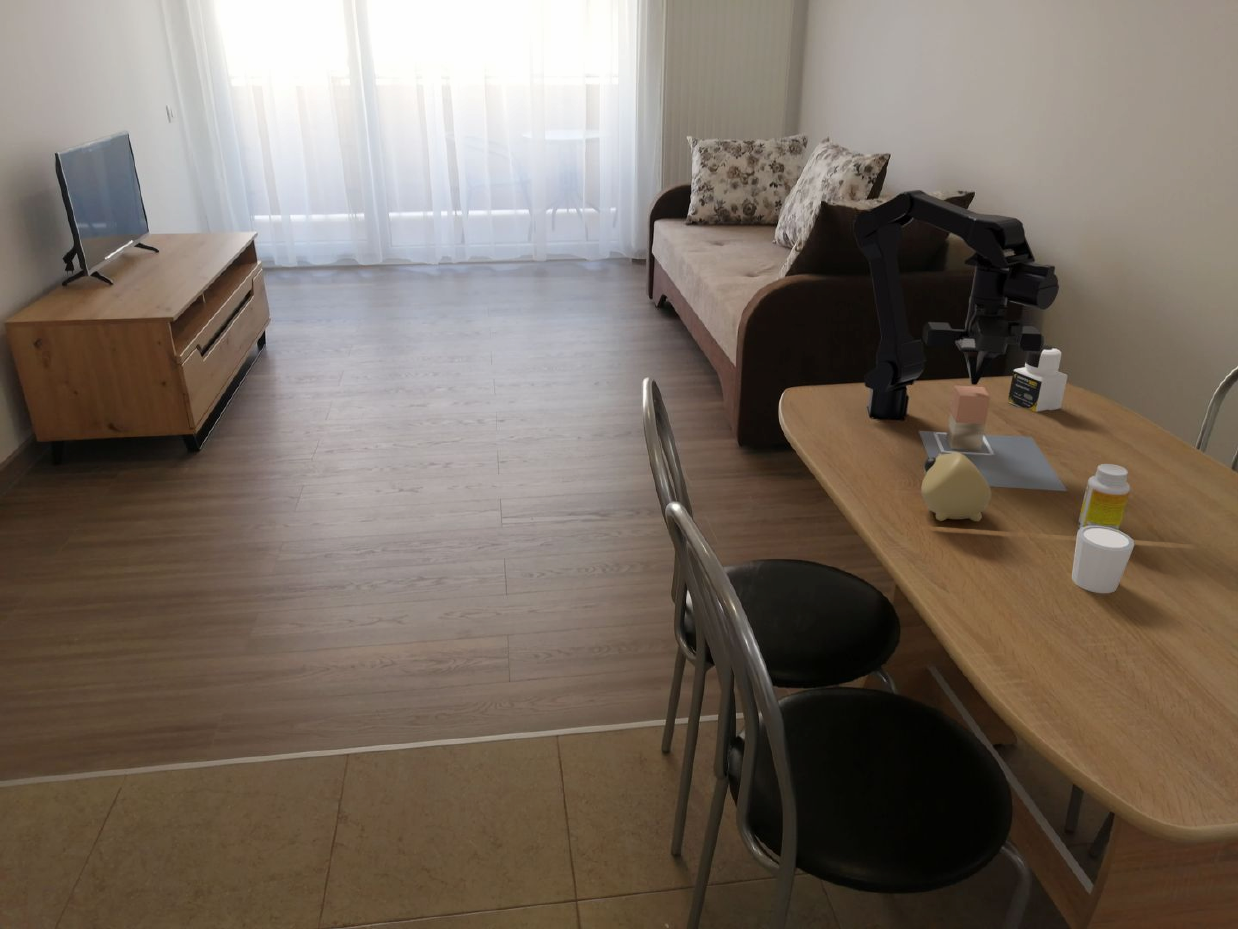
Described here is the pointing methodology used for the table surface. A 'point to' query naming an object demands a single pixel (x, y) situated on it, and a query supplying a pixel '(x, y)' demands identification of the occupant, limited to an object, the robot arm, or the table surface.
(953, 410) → the top block
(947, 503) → the toy pig
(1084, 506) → the supplement bottle
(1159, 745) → the table surface
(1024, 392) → the medicine bottle
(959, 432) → the base block
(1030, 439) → the build mat
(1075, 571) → the white cylinder
